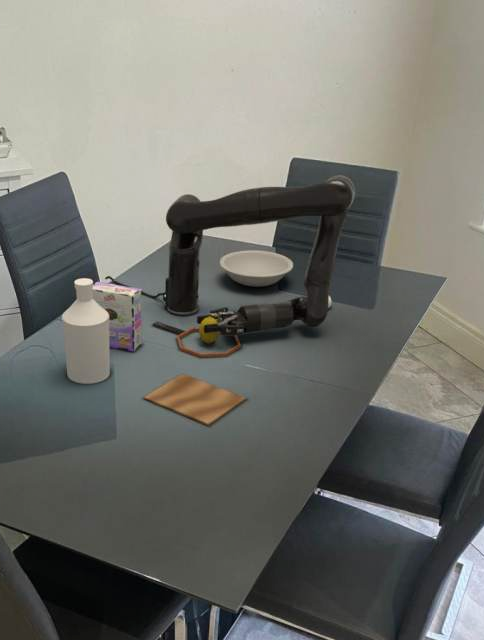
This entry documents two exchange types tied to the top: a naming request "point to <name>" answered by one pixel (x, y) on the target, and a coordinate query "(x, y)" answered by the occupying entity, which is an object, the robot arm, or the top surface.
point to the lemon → (208, 336)
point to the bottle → (86, 337)
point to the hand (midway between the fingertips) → (200, 324)
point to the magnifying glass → (183, 333)
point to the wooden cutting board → (195, 399)
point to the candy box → (121, 314)
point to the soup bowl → (256, 267)
